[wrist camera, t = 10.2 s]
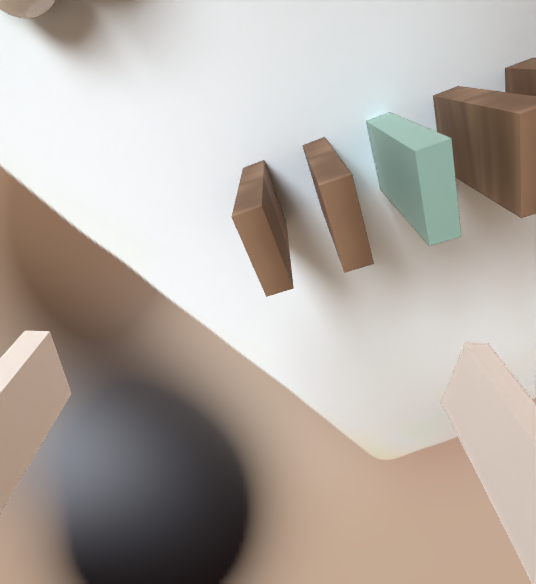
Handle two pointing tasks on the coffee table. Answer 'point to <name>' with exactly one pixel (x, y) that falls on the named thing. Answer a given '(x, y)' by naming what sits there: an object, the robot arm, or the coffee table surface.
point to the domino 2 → (339, 204)
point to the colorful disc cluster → (26, 7)
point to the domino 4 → (521, 78)
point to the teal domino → (417, 175)
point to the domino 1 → (263, 229)
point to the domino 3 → (492, 143)
